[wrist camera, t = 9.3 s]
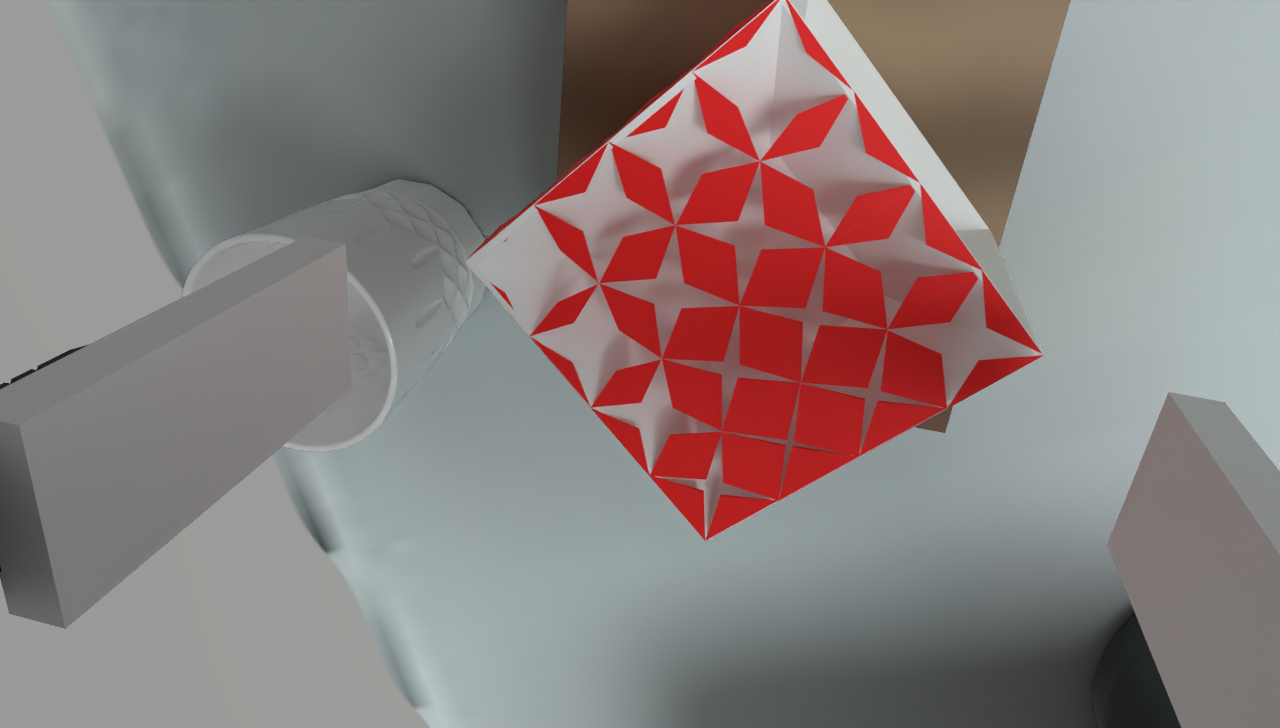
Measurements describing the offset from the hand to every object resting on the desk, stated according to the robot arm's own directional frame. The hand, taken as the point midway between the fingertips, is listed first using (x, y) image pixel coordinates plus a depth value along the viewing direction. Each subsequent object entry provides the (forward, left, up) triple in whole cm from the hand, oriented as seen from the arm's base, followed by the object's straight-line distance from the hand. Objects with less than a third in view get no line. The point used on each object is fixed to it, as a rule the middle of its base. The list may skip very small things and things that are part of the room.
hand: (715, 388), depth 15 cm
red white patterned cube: (0, 0, -11) cm, 11 cm away
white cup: (-7, +15, -21) cm, 27 cm away
